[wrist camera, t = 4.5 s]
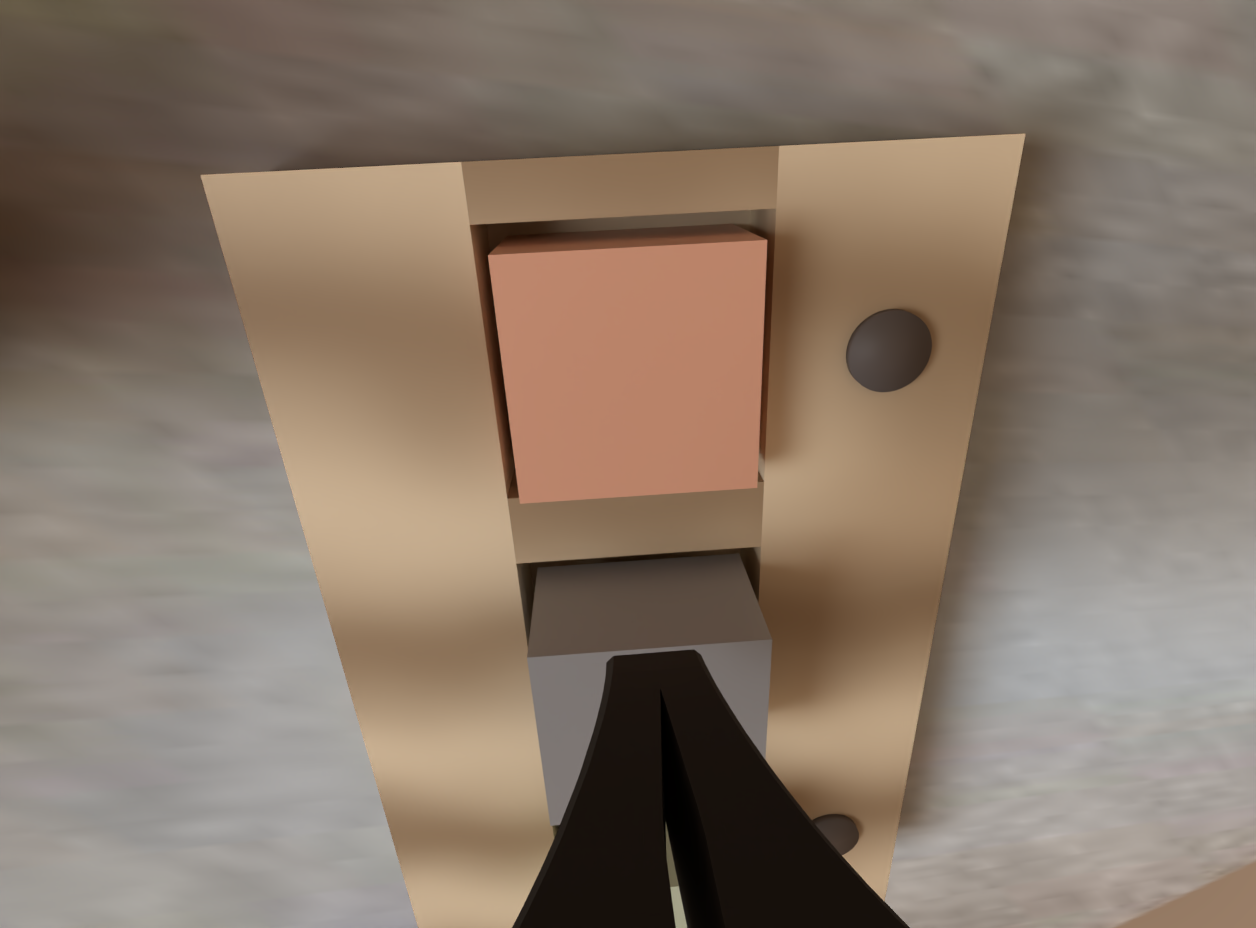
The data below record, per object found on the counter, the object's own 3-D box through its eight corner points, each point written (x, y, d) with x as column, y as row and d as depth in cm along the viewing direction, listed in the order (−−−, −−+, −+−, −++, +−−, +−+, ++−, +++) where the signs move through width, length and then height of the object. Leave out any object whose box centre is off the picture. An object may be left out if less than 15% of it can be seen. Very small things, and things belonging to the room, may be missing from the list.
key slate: (734, 704, 17) (762, 807, 14) (556, 719, 17) (550, 825, 14) (738, 553, 15) (772, 639, 13) (537, 567, 15) (526, 657, 12)
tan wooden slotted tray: (853, 834, 23) (885, 915, 20) (440, 869, 22) (422, 957, 20) (952, 137, 14) (1032, 133, 11) (265, 171, 13) (194, 175, 11)
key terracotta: (727, 430, 16) (757, 488, 13) (531, 443, 16) (519, 504, 13) (731, 223, 14) (767, 240, 11) (507, 235, 14) (488, 255, 11)
